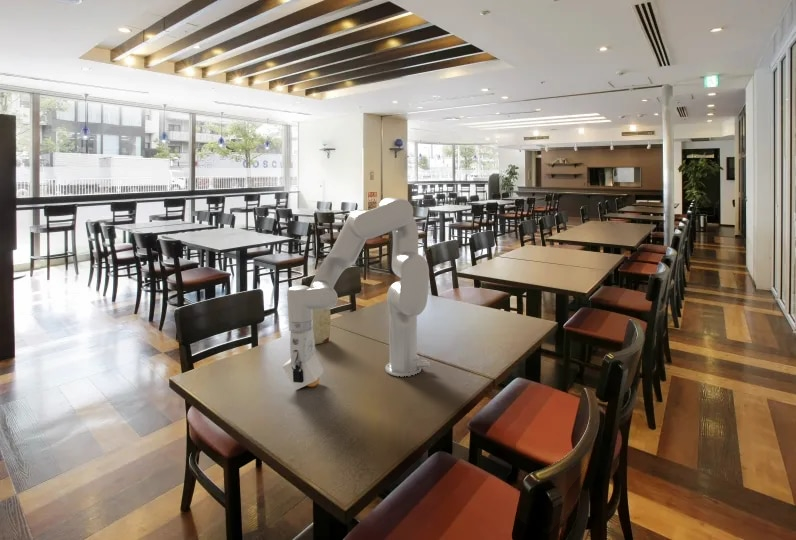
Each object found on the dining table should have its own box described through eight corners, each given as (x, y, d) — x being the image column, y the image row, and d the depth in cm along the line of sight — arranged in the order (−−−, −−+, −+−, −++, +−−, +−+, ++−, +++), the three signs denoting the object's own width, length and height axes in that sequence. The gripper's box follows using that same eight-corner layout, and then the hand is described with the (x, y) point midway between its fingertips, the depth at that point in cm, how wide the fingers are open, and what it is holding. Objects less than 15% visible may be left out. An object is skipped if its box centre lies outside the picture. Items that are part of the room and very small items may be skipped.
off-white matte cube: (323, 370, 151) (310, 348, 150) (315, 380, 144) (302, 356, 143) (305, 379, 153) (291, 357, 152) (296, 390, 146) (282, 366, 145)
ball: (323, 371, 150) (309, 366, 150) (317, 377, 145) (303, 371, 145) (319, 385, 151) (305, 379, 151) (313, 391, 146) (299, 385, 146)
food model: (317, 347, 182) (315, 298, 178) (306, 343, 187) (304, 296, 183) (335, 340, 190) (333, 294, 186) (324, 337, 194) (322, 291, 190)
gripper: (301, 334, 136) (304, 389, 139) (321, 317, 153) (323, 366, 156) (278, 333, 137) (281, 387, 141) (300, 316, 154) (302, 365, 158)
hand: (303, 376), depth 149 cm, fingers closed on off-white matte cube, 7 cm apart
